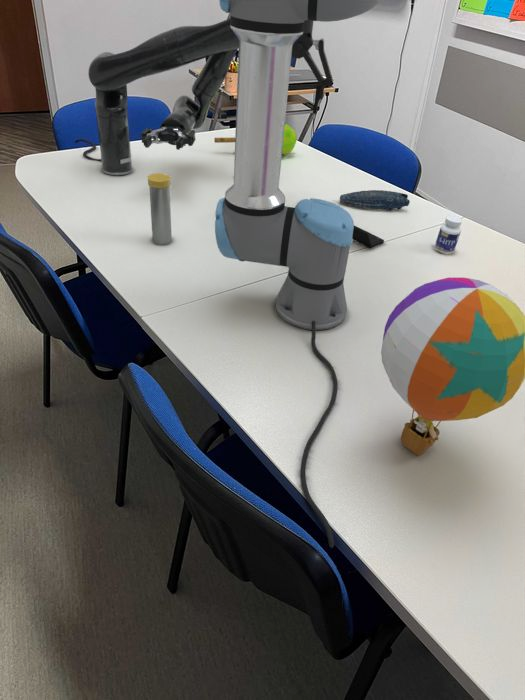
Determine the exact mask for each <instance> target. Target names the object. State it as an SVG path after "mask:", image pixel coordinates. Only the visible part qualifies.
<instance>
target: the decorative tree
mask: <svg viewBox="0 0 525 700" xmlns="http://www.w3.org/2000/svg"><path fill="white" fill-rule="evenodd" d="M213 139H214V143H215V144H218V143H219V144H220V143H235V137H214V138H213ZM297 139H298V138H297V133H296V130H294V129H293V128H292V127H291V126H290V125H289V124H286V123H285V127H284V138H283V148H282V156H283V155H284V156H285V155H287V154H289V153H291V152H292V151H293V150H294V148H295V145H296V144H297Z"/></svg>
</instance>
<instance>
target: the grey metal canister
mask: <svg viewBox="0 0 525 700" xmlns="http://www.w3.org/2000/svg"><path fill="white" fill-rule="evenodd" d="M170 186H171V185H170ZM170 186H169V187H166V188H153V187H150V186H149V185H148V189H149V205H150V220H151V236H152V242H153V243H154V244H156V245H159V246H165V245H169V244H171V243H172V240H173V239H172V217H171V216H172V215H171V213H172V212H171V211H172V210H171V190H170V189H171V188H170Z"/></svg>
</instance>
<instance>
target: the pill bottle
mask: <svg viewBox="0 0 525 700" xmlns="http://www.w3.org/2000/svg"><path fill="white" fill-rule="evenodd" d="M462 222H463V219H461V218H460V217H458V216H455V215H448V216H446V218H445V220H444V223H443V224H442V225H440V228H439V231H438V234H437V237H436V240H435V243H434V250H435V251H437V252H439V253H441V254H447V255H449V254H453V253H454V252H455V250H456V247H457V244H458V242H459V239H460V236H461V233H462V229H461V225H462Z"/></svg>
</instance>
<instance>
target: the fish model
mask: <svg viewBox="0 0 525 700" xmlns="http://www.w3.org/2000/svg"><path fill="white" fill-rule="evenodd" d="M410 202H411V201H410V200H409V195H408V194H406V193H403V192H402V193H401V192H399V191H392V190H382V189H380V190H379V189H377V190H376V189H368V190H360V191H352V192H348V193H344V194H341V195H340V196H339V203H343V204H346V205H349V206H351V207H357V208H362V209H371V210H372V209H374V210H384V211H385V210H386V211H391V210H394V209H397V210H402V208H404V207H408V206H409V205H410Z"/></svg>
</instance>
